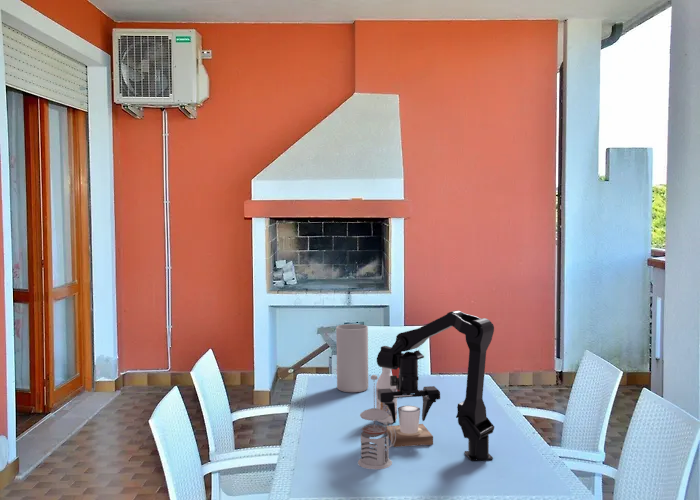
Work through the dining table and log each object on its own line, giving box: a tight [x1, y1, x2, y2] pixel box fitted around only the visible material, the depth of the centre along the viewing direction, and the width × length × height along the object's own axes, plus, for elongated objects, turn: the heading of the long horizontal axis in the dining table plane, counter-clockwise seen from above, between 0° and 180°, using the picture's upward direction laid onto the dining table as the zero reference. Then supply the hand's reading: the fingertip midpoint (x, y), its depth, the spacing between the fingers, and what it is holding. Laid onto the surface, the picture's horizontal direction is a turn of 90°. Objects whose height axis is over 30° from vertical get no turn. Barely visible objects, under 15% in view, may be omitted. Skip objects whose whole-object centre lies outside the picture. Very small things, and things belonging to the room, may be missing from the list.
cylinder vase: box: [335, 323, 369, 393], centre depth 263 cm, size 12×12×25 cm
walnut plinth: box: [386, 423, 434, 448], centre depth 205 cm, size 12×12×3 cm
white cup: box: [397, 405, 421, 434], centre depth 204 cm, size 7×7×7 cm
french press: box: [357, 374, 396, 470], centre depth 184 cm, size 10×12×25 cm
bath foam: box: [375, 367, 398, 424], centre depth 222 cm, size 7×7×20 cm
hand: (408, 421), depth 204 cm, fingers open, 9 cm apart
